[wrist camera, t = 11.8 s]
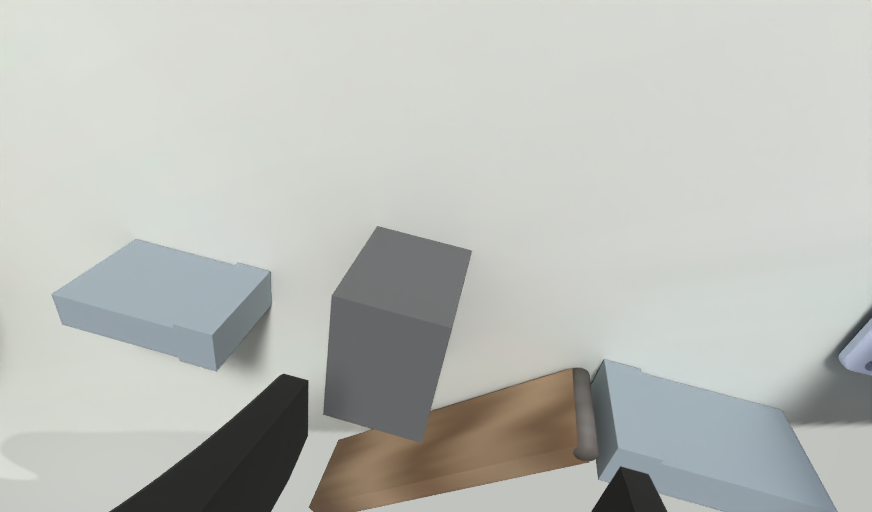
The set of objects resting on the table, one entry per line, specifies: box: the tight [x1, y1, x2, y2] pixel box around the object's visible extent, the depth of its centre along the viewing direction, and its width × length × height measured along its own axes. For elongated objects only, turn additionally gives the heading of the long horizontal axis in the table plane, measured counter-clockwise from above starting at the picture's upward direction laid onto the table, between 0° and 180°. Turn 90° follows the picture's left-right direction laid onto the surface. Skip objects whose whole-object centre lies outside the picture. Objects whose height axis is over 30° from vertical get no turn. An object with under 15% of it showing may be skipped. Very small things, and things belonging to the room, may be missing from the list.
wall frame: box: [52, 239, 837, 512], centre depth 19 cm, size 30×2×4 cm, turn 80°
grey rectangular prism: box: [323, 226, 472, 443], centre depth 19 cm, size 4×6×5 cm, turn 169°
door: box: [309, 368, 599, 512], centre depth 22 cm, size 15×1×4 cm, turn 123°
